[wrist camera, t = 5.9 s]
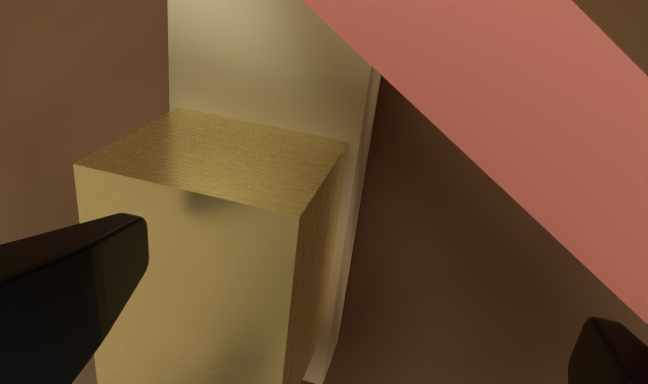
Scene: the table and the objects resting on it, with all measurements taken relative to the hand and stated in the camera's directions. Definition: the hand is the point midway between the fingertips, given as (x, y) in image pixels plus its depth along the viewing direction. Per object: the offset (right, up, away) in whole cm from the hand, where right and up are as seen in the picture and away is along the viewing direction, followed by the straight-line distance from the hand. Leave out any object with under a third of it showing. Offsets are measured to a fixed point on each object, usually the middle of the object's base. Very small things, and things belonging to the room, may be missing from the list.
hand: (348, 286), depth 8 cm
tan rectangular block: (-2, +1, +6) cm, 6 cm away
